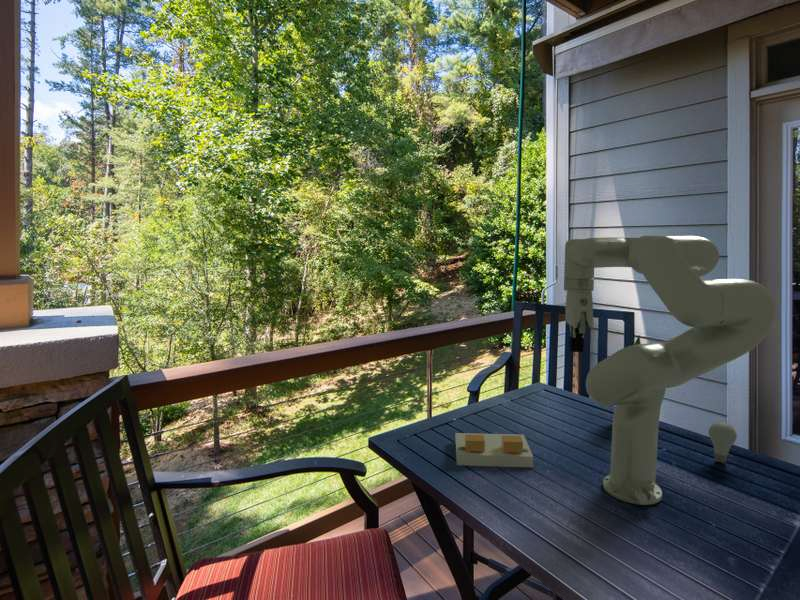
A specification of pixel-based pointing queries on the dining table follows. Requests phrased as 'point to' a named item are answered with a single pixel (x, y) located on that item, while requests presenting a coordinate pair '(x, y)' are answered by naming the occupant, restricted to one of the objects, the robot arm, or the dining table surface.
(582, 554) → the dining table surface
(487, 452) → the switch panel
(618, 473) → the robot arm
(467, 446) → the left tab
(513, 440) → the right tab
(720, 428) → the lightbulb
